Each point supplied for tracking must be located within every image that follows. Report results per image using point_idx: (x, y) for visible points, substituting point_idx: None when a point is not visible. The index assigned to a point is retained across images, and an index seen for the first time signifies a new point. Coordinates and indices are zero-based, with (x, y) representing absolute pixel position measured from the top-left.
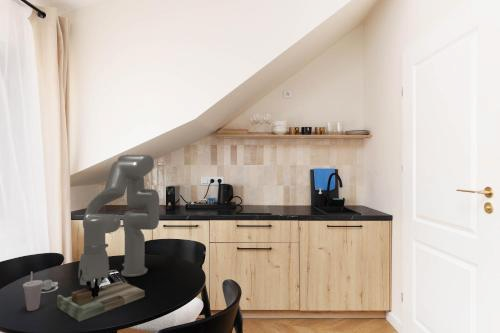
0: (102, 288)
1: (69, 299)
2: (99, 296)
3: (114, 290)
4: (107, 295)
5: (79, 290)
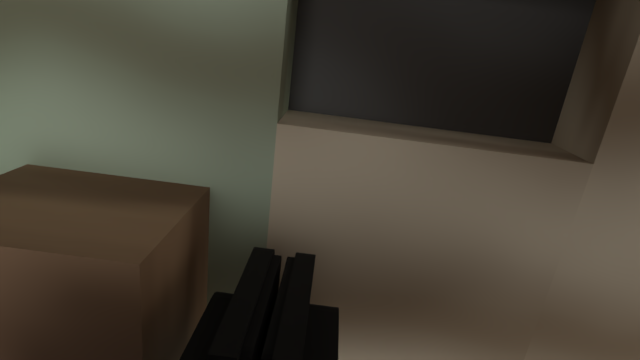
0: (633, 25)
1: (48, 8)
2: (358, 286)
3: (606, 289)
4: (431, 341)
5: (15, 263)
